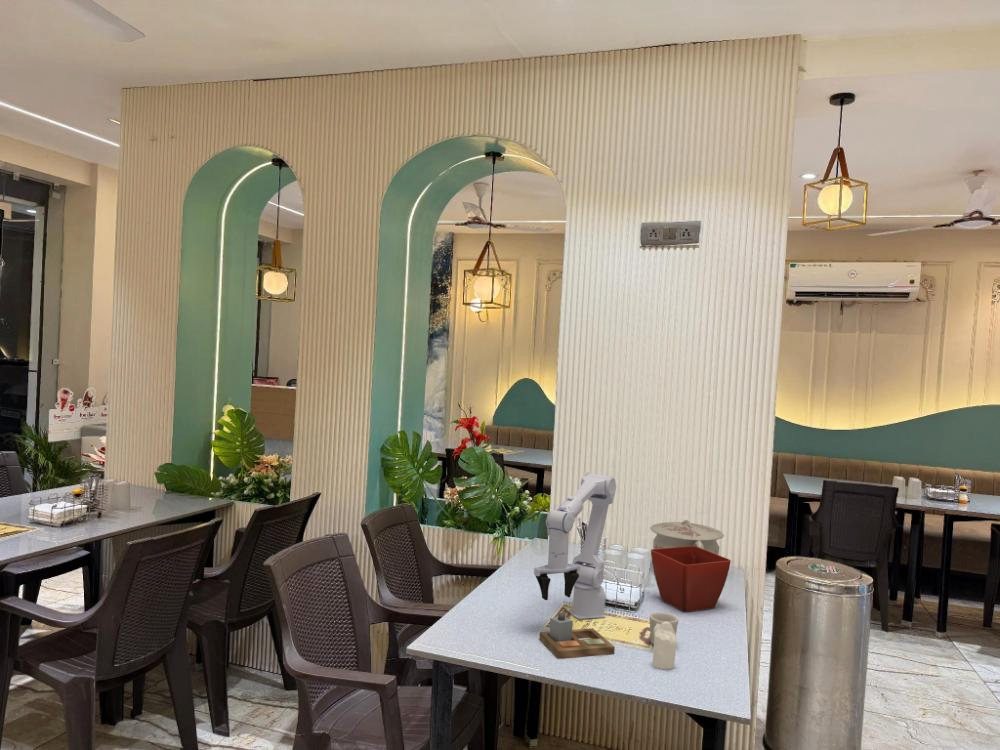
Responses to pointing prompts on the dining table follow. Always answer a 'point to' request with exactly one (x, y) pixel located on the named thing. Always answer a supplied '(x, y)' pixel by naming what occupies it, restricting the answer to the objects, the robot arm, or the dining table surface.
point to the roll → (664, 647)
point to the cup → (660, 618)
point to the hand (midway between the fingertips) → (556, 597)
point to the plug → (561, 628)
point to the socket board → (578, 644)
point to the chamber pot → (686, 536)
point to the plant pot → (689, 576)
